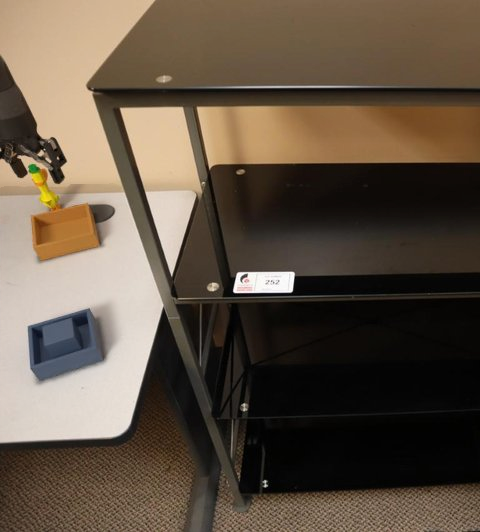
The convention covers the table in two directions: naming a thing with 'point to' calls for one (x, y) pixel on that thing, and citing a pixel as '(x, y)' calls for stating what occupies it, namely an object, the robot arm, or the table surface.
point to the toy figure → (44, 187)
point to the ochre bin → (64, 231)
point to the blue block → (62, 338)
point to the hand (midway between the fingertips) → (41, 178)
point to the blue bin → (50, 367)
